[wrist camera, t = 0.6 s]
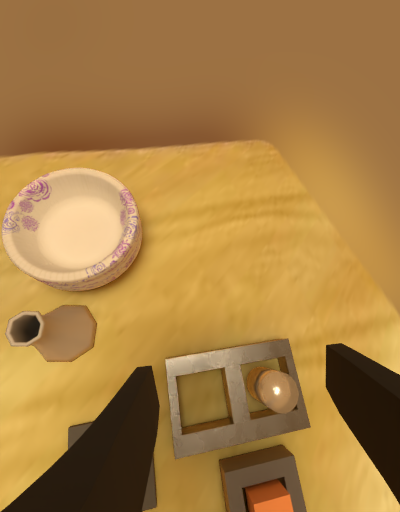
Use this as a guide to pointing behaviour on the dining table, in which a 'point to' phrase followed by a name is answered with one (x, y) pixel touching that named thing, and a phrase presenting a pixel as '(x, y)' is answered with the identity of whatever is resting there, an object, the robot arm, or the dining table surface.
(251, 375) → the light bulb
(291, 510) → the button
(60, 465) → the robot arm
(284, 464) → the button housing
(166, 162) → the dining table surface
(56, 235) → the paper bowls
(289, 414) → the grey flat rectangular frame
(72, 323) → the flask
